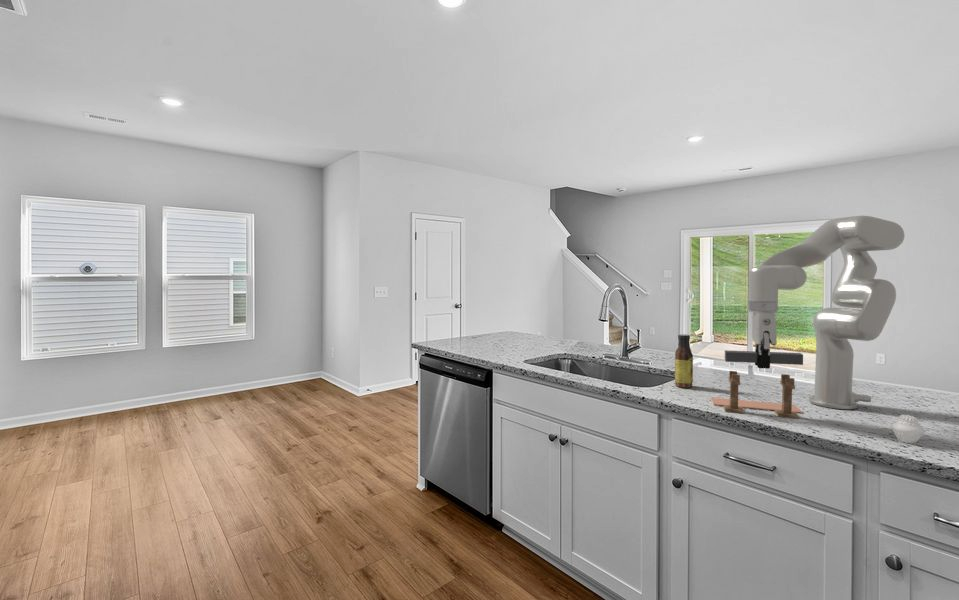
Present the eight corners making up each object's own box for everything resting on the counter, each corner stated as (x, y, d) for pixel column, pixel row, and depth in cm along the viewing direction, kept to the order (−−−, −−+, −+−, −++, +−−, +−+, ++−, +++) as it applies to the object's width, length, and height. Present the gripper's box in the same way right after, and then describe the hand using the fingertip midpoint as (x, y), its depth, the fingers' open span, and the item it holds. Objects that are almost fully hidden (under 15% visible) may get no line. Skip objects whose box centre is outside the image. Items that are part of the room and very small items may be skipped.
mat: (794, 406, 143) (794, 404, 143) (802, 413, 136) (802, 412, 135) (711, 398, 152) (711, 397, 152) (714, 405, 144) (714, 404, 144)
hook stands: (793, 413, 136) (794, 375, 135) (799, 419, 130) (800, 379, 129) (723, 407, 143) (724, 370, 142) (725, 412, 137) (726, 374, 136)
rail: (799, 362, 133) (800, 352, 133) (803, 364, 130) (803, 354, 130) (724, 359, 141) (724, 350, 140) (726, 361, 138) (726, 352, 138)
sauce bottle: (694, 389, 165) (695, 336, 164) (676, 388, 166) (677, 335, 165) (690, 384, 171) (691, 333, 170) (672, 384, 173) (673, 333, 171)
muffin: (927, 442, 112) (929, 415, 111) (918, 447, 109) (920, 419, 108) (895, 435, 117) (897, 409, 117) (886, 439, 114) (887, 413, 114)
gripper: (784, 309, 125) (783, 373, 127) (771, 304, 140) (770, 362, 142) (754, 309, 128) (753, 372, 129) (743, 304, 143) (743, 360, 145)
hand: (762, 366), depth 136 cm, fingers closed on rail, 3 cm apart
